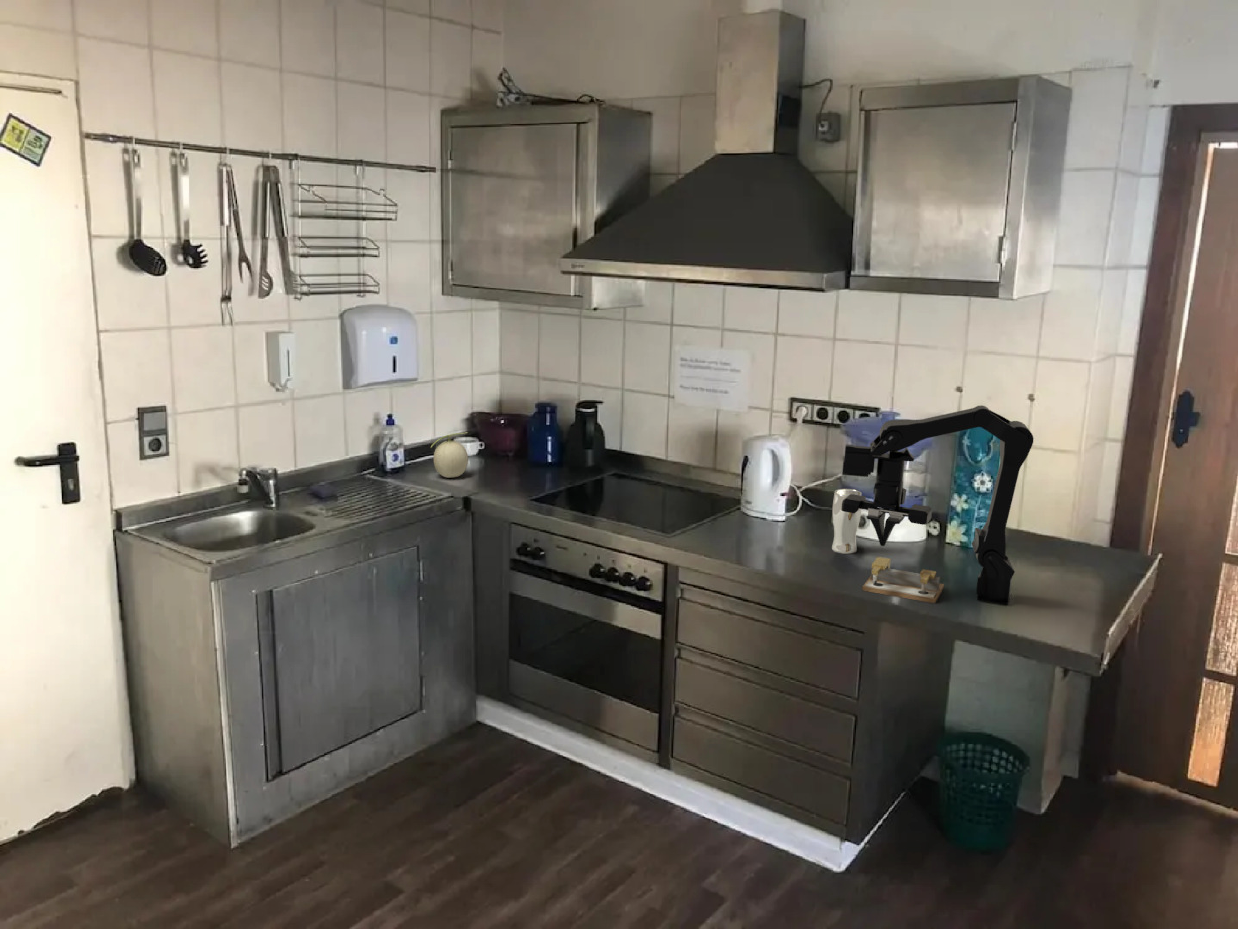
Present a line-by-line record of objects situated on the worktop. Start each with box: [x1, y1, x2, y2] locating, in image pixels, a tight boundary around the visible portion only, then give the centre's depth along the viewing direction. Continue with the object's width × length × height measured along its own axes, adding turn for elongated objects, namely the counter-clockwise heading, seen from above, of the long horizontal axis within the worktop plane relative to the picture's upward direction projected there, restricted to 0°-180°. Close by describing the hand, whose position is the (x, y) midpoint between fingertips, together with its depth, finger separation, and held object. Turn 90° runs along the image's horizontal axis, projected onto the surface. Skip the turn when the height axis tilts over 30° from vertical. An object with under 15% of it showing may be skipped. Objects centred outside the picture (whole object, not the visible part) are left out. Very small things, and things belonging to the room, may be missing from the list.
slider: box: [870, 556, 892, 584], centre depth 234 cm, size 3×9×4 cm, turn 153°
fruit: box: [430, 431, 469, 479], centre depth 319 cm, size 10×12×15 cm
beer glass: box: [831, 488, 863, 555], centre depth 256 cm, size 7×7×15 cm
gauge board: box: [861, 568, 945, 604], centre depth 231 cm, size 16×10×5 cm, turn 63°
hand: (882, 545), depth 229 cm, fingers closed
